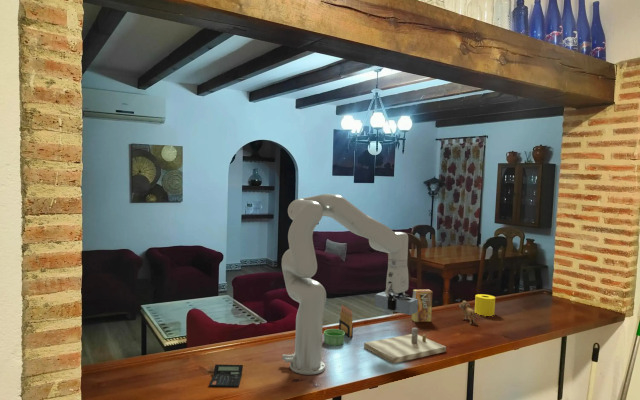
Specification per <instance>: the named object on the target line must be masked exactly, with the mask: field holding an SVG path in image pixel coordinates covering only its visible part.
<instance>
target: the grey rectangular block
mask: <svg viewBox="0 0 640 400" xmlns="http://www.w3.org/2000/svg"><path fill="white" fill-rule="evenodd" d="M391 295H392V296H393V294H391ZM374 307H375V308H380V309H384V310H388V311H392V312H396V313H400V314H404V315H408V316H412V314H414V313H416V312H417V309H418V299H413V297H408V296H405V297H404V296H400V295H398V294H396V295H395V310H394V311H393V310H389V309H388V299H387V296H386V294H385V291H382V292H378V293H376V294H375V296H374Z"/></svg>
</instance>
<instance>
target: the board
mask: <svg viewBox="0 0 640 400" xmlns="http://www.w3.org/2000/svg"><path fill="white" fill-rule="evenodd" d="M418 332H419V328H418V327H412V328H411V333H410V334H404V335H399V336H394V337H388V338H382V339H378V340H372V341H366V342H363V348H364V349H366V350H367V349H368V350H367V351H369V350H370V351H369V352H371V351H372V352H371V353H373V354H375V355H377V356H378V355H379V356H378V357H381V358H382V359H384V360H386V361H387V362H390V363H391V364H397V363H400V362H406V361H411V360H414V359H419V358H424V357H428V356H432V355H437V354H441V353H446V352H447V346H445V345H442V344H441V343H438V342H436V341H434V340H433V339H432V340H431V339H429V338H427V335H426V334H422V335H420V334H419V333H418Z"/></svg>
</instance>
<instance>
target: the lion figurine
mask: <svg viewBox="0 0 640 400" xmlns="http://www.w3.org/2000/svg"><path fill="white" fill-rule="evenodd" d="M458 306H459V308H460V309H461V311H463V316H464V317H463V320H464V319H465V320H469V325H472V324H474V325H476V326H477V323H476V320H475V319H476V314H475V309H472V306H471V304H470V302H468V301H466V300H462V302H461V303H459V304H458ZM467 316H468V318H467ZM472 322H473V323H472Z"/></svg>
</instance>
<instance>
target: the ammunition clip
mask: <svg viewBox="0 0 640 400" xmlns="http://www.w3.org/2000/svg"><path fill="white" fill-rule="evenodd" d="M339 317H340V318H339V320H338V329H339V330H342V331H344V332H345V335H344V336H345V337H348V338H349V337H350V338H353V336H354V335H353V333H354V329H353V328H354V326H353V312H352V309H350V308H349V307H347V306H345V305H344V304H341V308H340V316H339Z"/></svg>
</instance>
